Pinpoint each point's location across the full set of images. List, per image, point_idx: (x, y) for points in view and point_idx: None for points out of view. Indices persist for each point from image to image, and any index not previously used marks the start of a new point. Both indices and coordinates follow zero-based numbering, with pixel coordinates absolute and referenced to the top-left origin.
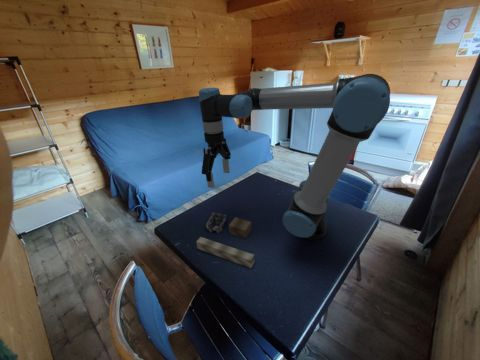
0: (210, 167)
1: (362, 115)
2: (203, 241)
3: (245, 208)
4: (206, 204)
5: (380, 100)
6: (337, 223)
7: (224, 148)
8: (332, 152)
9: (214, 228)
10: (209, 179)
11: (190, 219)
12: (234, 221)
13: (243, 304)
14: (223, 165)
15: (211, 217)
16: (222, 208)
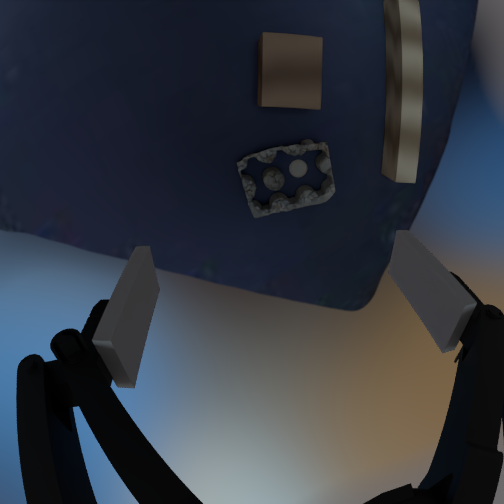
0: (502, 353)
1: None
2: (409, 161)
3: (141, 124)
4: (195, 274)
5: None
6: None
7: (77, 491)
8: None
9: (324, 164)
10: (463, 283)
11: (293, 271)
12: (290, 96)
13: (472, 17)
14: (144, 331)
15: (280, 206)
16: (186, 208)
